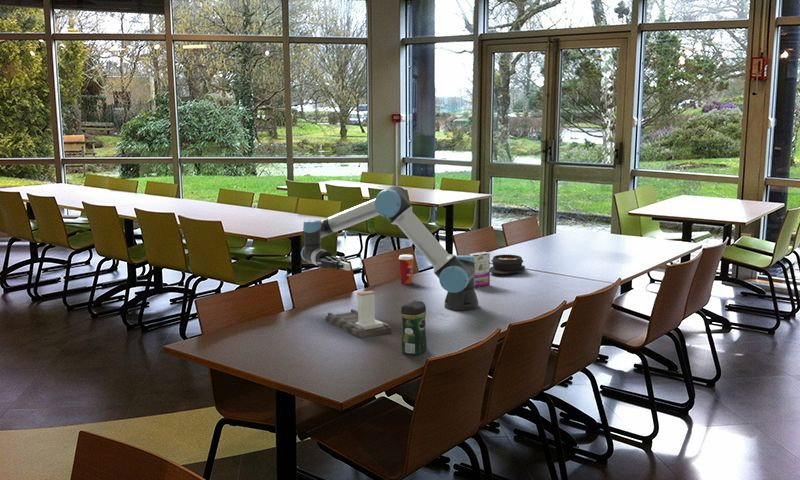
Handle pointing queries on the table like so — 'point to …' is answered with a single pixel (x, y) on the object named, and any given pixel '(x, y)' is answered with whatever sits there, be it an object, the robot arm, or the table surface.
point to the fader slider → (367, 311)
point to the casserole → (507, 264)
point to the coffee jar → (413, 328)
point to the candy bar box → (481, 268)
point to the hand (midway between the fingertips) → (348, 267)
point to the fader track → (348, 324)
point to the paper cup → (406, 268)
